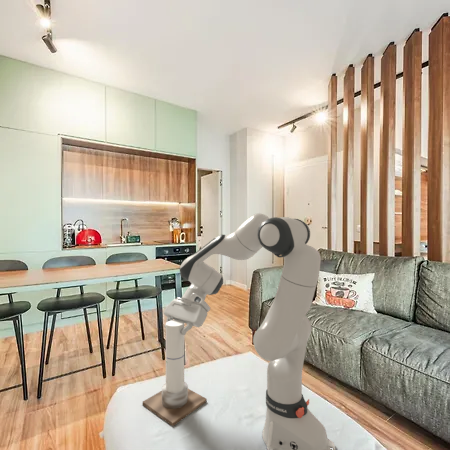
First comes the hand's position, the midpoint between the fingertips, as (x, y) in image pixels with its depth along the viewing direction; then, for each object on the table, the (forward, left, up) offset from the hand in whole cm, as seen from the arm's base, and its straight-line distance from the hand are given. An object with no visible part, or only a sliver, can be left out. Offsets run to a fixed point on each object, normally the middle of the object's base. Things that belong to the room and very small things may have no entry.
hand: (173, 331), depth 105 cm
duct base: (0, 0, -28) cm, 28 cm away
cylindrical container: (0, -1, -22) cm, 22 cm away
